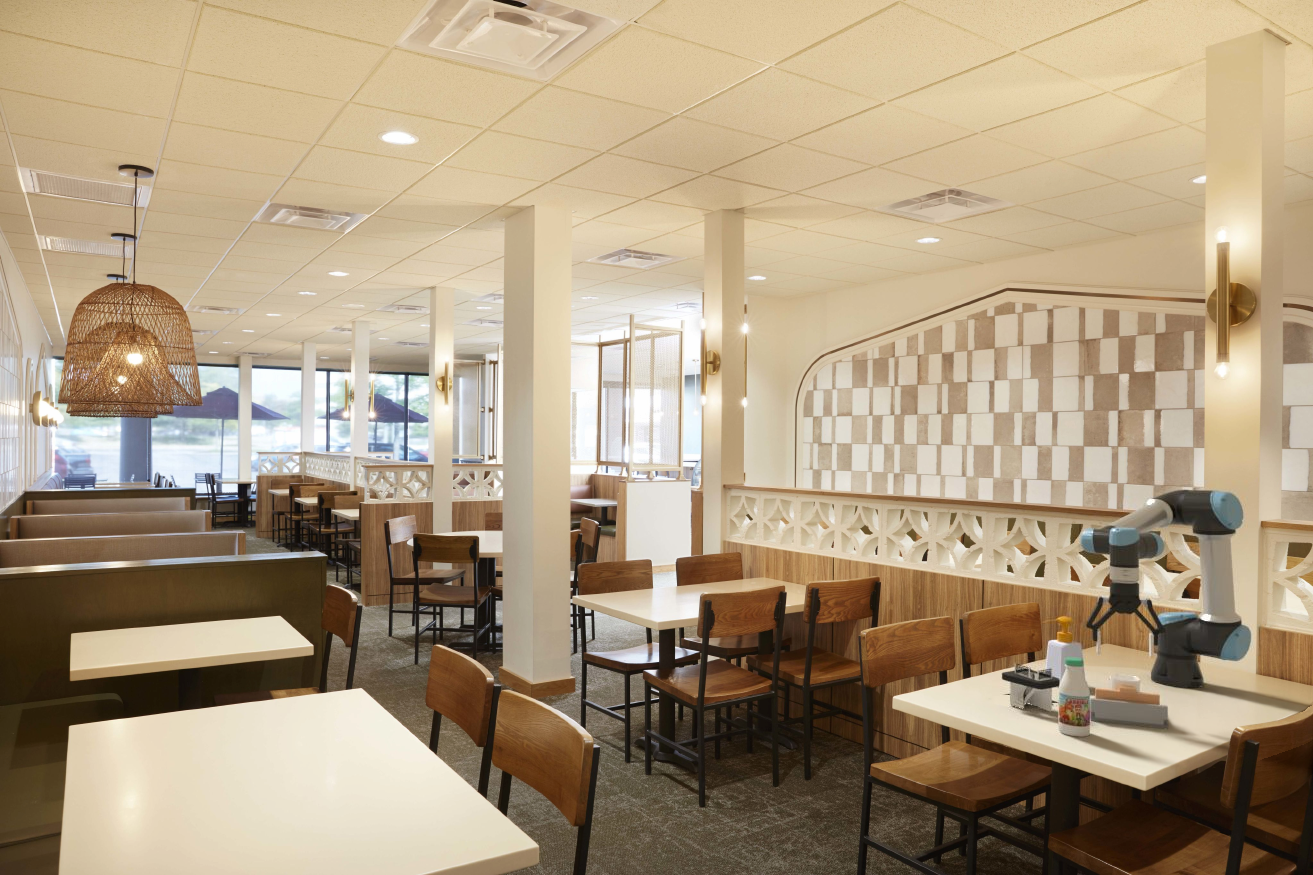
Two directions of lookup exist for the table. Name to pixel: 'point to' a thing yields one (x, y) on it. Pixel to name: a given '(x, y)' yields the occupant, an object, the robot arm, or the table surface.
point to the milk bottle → (1074, 700)
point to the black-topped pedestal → (1031, 687)
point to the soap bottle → (1062, 649)
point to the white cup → (1124, 681)
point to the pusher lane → (1129, 713)
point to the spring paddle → (1127, 695)
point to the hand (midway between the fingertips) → (1124, 654)
